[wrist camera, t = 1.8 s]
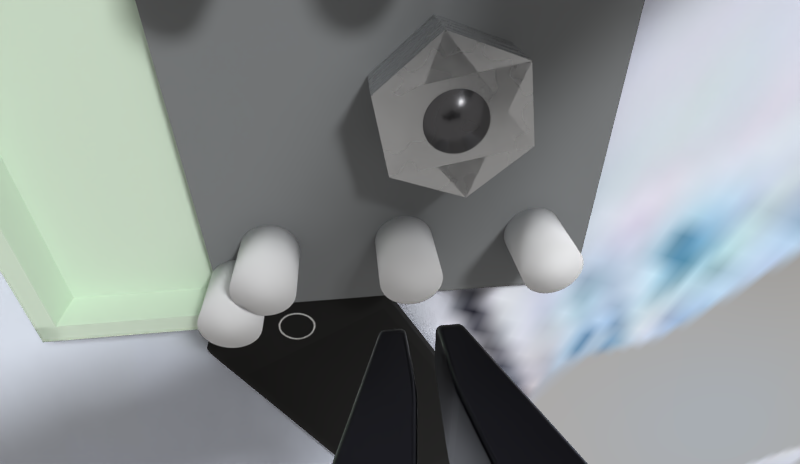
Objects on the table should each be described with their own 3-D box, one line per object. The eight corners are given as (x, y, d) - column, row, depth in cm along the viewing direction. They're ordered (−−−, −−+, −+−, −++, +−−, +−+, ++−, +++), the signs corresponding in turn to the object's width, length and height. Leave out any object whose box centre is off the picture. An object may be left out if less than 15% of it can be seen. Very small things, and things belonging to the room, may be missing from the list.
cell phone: (360, 252, 23) (361, 265, 22) (505, 437, 33) (509, 450, 32) (205, 333, 24) (201, 347, 24) (387, 485, 34) (388, 499, 33)
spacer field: (691, -251, 14) (782, -284, 11) (567, 269, 24) (597, 320, 21) (-242, -263, 12) (-421, -307, 9) (64, 308, 22) (25, 369, 19)
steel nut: (510, -3, 16) (530, 10, 14) (518, 157, 19) (535, 182, 18) (357, 31, 16) (360, 48, 14) (391, 184, 19) (396, 212, 18)
